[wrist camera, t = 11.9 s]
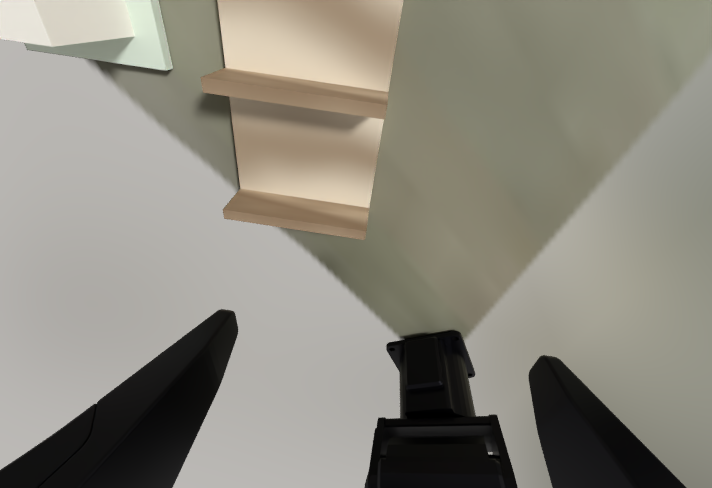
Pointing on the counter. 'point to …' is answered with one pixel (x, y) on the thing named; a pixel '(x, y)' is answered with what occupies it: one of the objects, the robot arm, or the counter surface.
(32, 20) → the letter cube
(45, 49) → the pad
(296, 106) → the slot rack
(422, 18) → the counter surface
